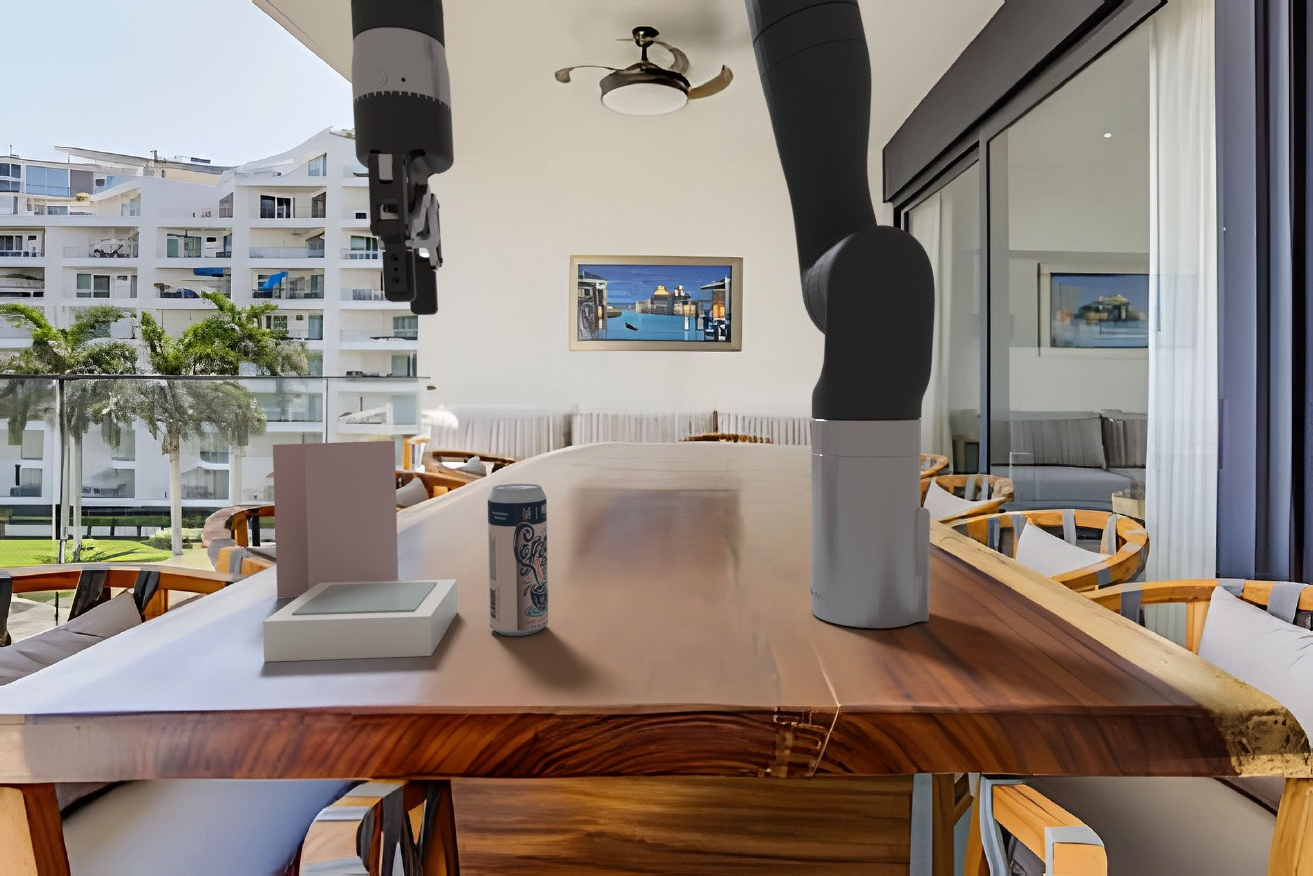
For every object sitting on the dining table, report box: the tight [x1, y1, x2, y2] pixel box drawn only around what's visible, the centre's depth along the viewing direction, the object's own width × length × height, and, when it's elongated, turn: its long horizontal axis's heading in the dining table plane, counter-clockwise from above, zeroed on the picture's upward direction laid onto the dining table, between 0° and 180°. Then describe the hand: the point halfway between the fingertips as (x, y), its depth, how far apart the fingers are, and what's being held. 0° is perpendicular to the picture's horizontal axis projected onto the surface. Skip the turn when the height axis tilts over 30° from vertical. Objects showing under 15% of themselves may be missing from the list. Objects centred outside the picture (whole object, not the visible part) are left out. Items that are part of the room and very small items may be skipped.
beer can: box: [487, 483, 549, 637], centre depth 64 cm, size 5×5×12 cm
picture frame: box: [262, 578, 459, 663], centre depth 63 cm, size 12×12×3 cm
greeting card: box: [272, 440, 399, 599], centre depth 75 cm, size 11×7×15 cm, turn 121°
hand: (413, 308), depth 63 cm, fingers open, 8 cm apart
